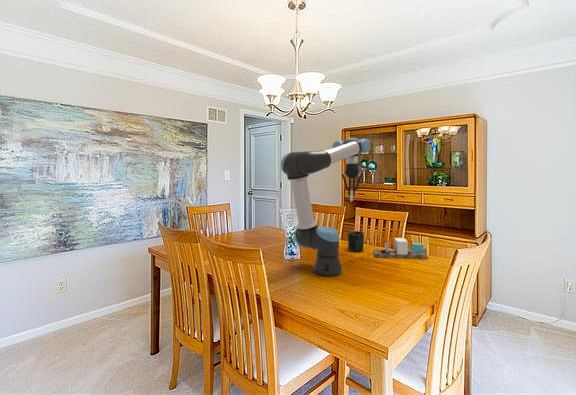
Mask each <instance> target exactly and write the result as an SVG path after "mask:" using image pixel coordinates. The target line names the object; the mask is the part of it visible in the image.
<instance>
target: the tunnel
mask: <svg viewBox="0 0 576 395" xmlns="http://www.w3.org/2000/svg"><path fill="white" fill-rule="evenodd" d="M408 243H409V242H408V240H407V239H406V238H404V237H394V242H393V244H394V245H393V250H397V254H402V255H408V249H409V248H408V247H409V246H408V245H409V244H408Z"/></svg>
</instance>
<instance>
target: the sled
mask: <svg viewBox="0 0 576 395" xmlns="http://www.w3.org/2000/svg"><path fill="white" fill-rule="evenodd" d="M384 250H385V252H386V253H388V252H397V250H394V249H389V244H388V242H384ZM408 252H409V253H411V254H426V255H427V253H428V250H427V249H425V247H424V248H423V252H413V251H412V250H411V249H409V248H408Z"/></svg>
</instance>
